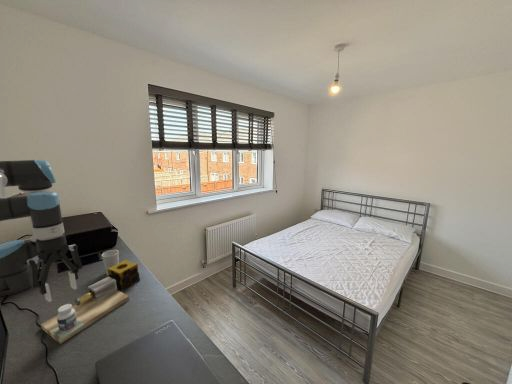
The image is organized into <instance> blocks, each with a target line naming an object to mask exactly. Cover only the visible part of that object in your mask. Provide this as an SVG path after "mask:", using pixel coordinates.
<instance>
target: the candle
mask: <svg viewBox="0 0 512 384" xmlns="http://www.w3.org/2000/svg"><path fill="white" fill-rule="evenodd" d="M108 274H109V275H108V277H111V278H113V279H115V280H116V285H117V290H118V291H125V290H126V289H128V288H129V287H131V286H132V285H134V284H136V283H138V282H139V281H140V280H141V278H140V273H139V264H138V263H136V262H132V261H129V260H128V259H124V260H123V261H121V262H120V261H119V263H118V264H116V265H114V266H112V267H110V268H108ZM137 281H138V282H137ZM135 282H136V283H135Z"/></svg>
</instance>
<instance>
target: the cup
mask: <svg viewBox="0 0 512 384" xmlns="http://www.w3.org/2000/svg"><path fill="white" fill-rule="evenodd" d="M119 253H120V252H119V250H118V249H110V250H106V251H104V252H103V253H102V254H101V258H102V263H103V265H104V266H103V267H104V270H105V274H106V276H109V274H108V268H110V267H112V266H114V265H116V264H118V263H120V257H119V256H120V255H119Z"/></svg>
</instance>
